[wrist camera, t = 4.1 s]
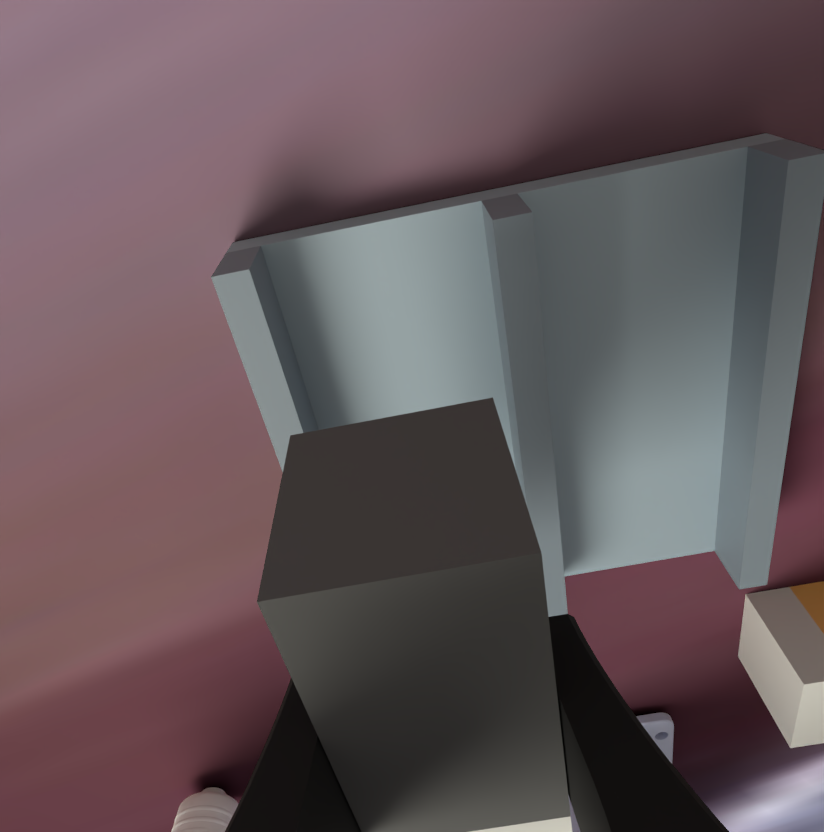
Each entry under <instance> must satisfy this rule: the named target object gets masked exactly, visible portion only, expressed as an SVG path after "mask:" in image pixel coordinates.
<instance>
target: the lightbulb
mask: <svg viewBox="0 0 824 832" xmlns="http://www.w3.org/2000/svg"><path fill="white" fill-rule="evenodd" d="M237 806H238V803H237V801H236V800H235V799H234V798H232V797H231V796H229V795H226V793H225V791H224V790H222V789H220V788H216V787H210V788H206V789H204V790H203V791H202V792H199V793H196V794H193V795H191V796H189V797H187V798H186V799H185V800H184V801H183V802H182V803H181V804H180V806H179V809H178V813H177V815H176V818H175V823H174V826H173V828H172V830H171V832H225V830H226V828H227V826H228V824H229V822H230V820H231V818H232V816H233V814H234V812H235V810H236V808H237Z"/></svg>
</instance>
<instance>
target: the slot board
mask: <svg viewBox="0 0 824 832" xmlns="http://www.w3.org/2000/svg"><path fill="white" fill-rule="evenodd" d="M823 199H824V150H822V149H819V148H815V147H812V146H808V145H805V144H802V143H798V142H795V141H791V140H788V139H785V138H781V137H778V136H774V135H771V134H767V133H765V134H760V135H755V136H750V137H745V138H740V139H735V140H731V141H726V142H721V143H716V144H711V145H706V146H701V147H696V148H691V149H687V150H682V151H677V152H672V153H667V154H662V155H657V156H652V157H647V158H643V159H638V160H633V161H628V162H623V163H618V164H613V165H608V166H603V167H599V168H594V169H589V170H584V171H579V172H574V173H569V174H564V175H559V176H555V177H550V178H545V179H540V180H535V181H530V182H525V183H520V184H515V185H511V186H506V187H501V188H496V189H491V190H486V191H481V192H476V193H471V194H467V195H462V196H457V197H452V198H447V199H442V200H437V201H432V202H427V203H423V204H418V205H413V206H408V207H403V208H398V209H393V210H388V211H383V212H379V213H374V214H369V215H364V216H359V217H354V218H349V219H344V220H339V221H335V222H330V223H325V224H320V225H315V226H310V227H305V228H300V229H295V230H291V231H286V232H281V233H276V234H271V235H266V236H261V237H256V238H251V239H247V240H242V241H237V242H233V243H232V245H231V246H230V248H229V249H228V251H227V253H226V254H225V256H224V257H223V259H222V260H221V262H220V264H219V265H218V267H217V268H216V270H215V272H214V273H213V275H212V276H211V278H212V281H213V284H214V286H215V289H216V292H217V294H218V297H219V300H220V303H221V305H222V308H223V311H224V314H225V316H226V319H227V322H228V324H229V327H230V330H231V333H232V335H233V338H234V341H235V344H236V346H237V349H238V352H239V354H240V357H241V360H242V363H243V365H244V368H245V371H246V374H247V376H248V379H249V382H250V384H251V387H252V390H253V393H254V395H255V398H256V401H257V404H258V406H259V409H260V412H261V414H262V417H263V420H264V423H265V425H266V428H267V431H268V434H269V436H270V439H271V442H272V444H273V447H274V450H275V453H276V455H277V458H278V461H279V464H280V466H281V469H282V472H283V469H284V464H285V459H286V454H287V449H288V444H289V439H290V435H295V434H300V433H306V432H311V431H316V430H322V429H327V428H332V427H338V426H343V425H349V424H354V423H359V422H365V421H370V420H375V419H381V418H386V417H391V416H397V415H402V414H407V413H413V412H418V411H423V410H429V409H434V408H439V407H445V406H450V405H455V404H461V403H466V402H471V401H477V400H482V399H487V398H493V400H494V403H495V406H496V409H497V412H498V416H499V419H500V422H501V425H502V428H503V432H504V435H505V438H506V441H507V444H508V448H509V451H510V454H511V457H512V460H513V463H514V467H515V470H516V473H517V476H518V479H519V483H520V486H521V489H522V492H523V495H524V499H525V502H526V505H527V508H528V511H529V515H530V518H531V521H532V524H533V527H534V530H535V534H536V537H537V540H538V543H539V546H540V550H541V553H542V562H543V571H544V580H545V589H546V598H547V607H548V616H549V617H551V616H557V615H563V614H568V612H567V601H566V589H565V578H564V576H569V575H575V574H581V573H587V572H593V571H599V570H605V569H611V568H616V567H622V566H628V565H634V564H640V563H646V562H652V561H657V560H663V559H669V558H675V557H681V556H687V555H693V554H699V553H704V552H710V551H715V552H716V554H717V555H718V557H719V559H720V560H721V562H722V563H723V565H724V566H725V568H726V570H727V571H728V573H729V574H730V576H731V577H732V579H733V580H734V582H735V584H736V585H737V587H738V588H739V589H744V588H750V587H756V586H762V585H767V581H768V574H769V568H770V561H771V554H772V547H773V540H774V534H775V527H776V520H777V513H778V506H779V499H780V493H781V486H782V479H783V472H784V465H785V459H786V452H787V445H788V438H789V431H790V424H791V418H792V411H793V404H794V397H795V390H796V384H797V377H798V370H799V363H800V356H801V349H802V343H803V336H804V329H805V322H806V315H807V309H808V302H809V295H810V288H811V281H812V274H813V268H814V261H815V254H816V247H817V240H818V234H819V227H820V220H821V213H822V206H823Z"/></svg>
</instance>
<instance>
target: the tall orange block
mask: <svg viewBox="0 0 824 832" xmlns="http://www.w3.org/2000/svg"><path fill="white" fill-rule="evenodd" d="M738 657H739V659H740V661H741V663H742V664H743V666H744V668H745V670H746V671H747V673H748V675H749V677H750V679H751V680H752V682H753V684H754V686H755V687H756V689H757V691H758V693H759V694H760V696H761V698H762V700H763V701H764V703H765V705H766V707H767V708H768V710H769V712H770V714H771V715H772V717H773V719H774V721H775V722H776V724H777V726H778V728H779V729H780V731H781V733H782V735H783V736H784V738H785V740H786V742H787V743H788V745H789V747H790V748H795V747H801V746H808V745H815V744H821V743H824V581H822V582H816V583H810V584H804V585H798V586H792V587H786V588H780V589H774V590H768V591H762V592H756V593H750V594H746V595H745V604H744V612H743V620H742V628H741V636H740V644H739V652H738Z"/></svg>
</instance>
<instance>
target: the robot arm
mask: <svg viewBox="0 0 824 832" xmlns="http://www.w3.org/2000/svg"><path fill="white" fill-rule="evenodd" d="M549 625H550V634H551V643H552V652H553V661H554V670H555V679H556V688H557V697H558V706H559V715H560V724H561V733H562V742H563V751H564V760H565V769H566V778H567V787H568V796H569V805H570V814H571V823H572V832H729V831H728V830H727V829H726V828H725V827H724V825H723V824H722V823H721V822H720V821H719V820H718V819H717V818H716V816H715V815H714V814H713V813H712V812H711V811H710V809H709V808H708V807H707V806H706V805H705V804H704V802H703V801H702V800H701V799H700V798H699V796H698V795H697V794H696V793H695V792H694V791H693V789H692V788H691V787H690V786H689V784H688V783H687V782H686V781H685V779H684V778H683V777H682V776H681V775H680V773H679V772H678V771H677V770H676V768H675V767H674V766H673V765H672V759H673V738H674V724H673V721H672V719H671V716H670V715H669V714H667V713H663V712H659V713H652V714H646V715H639V716H635V714H634V713H633V712H632V710H631V709H630V708H629V706H628V705H627V703H626V702H625V701H624V699H623V698H622V696H621V695H620V693H619V692H618V690H617V689H616V688H615V686H614V685H613V683H612V681H611V680H610V678H609V677H608V675H607V674H606V672H605V671H604V669H603V668H602V666H601V665H600V663H599V661H598V660H597V658H596V656H595V655H594V653H593V651H592V650H591V648H590V646H589V645H588V643H587V641H586V639H585V638H584V636H583V634H582V632H581V630H580V628H579V626H578V624H577V622H576V620H575V618H574V617H572V616H571V615H569V614H563V615H557V616H551V617H549ZM225 832H361V830H360V828H359V825H358V823H357V821H356V819H355V817H354V814H353V812H352V810H351V808H350V806H349V803H348V801H347V799H346V797H345V795H344V792H343V790H342V788H341V786H340V784H339V781H338V779H337V777H336V775H335V773H334V770H333V768H332V766H331V764H330V762H329V759H328V757H327V755H326V753H325V751H324V748H323V746H322V744H321V742H320V740H319V737H318V735H317V733H316V731H315V729H314V726H313V724H312V722H311V720H310V718H309V715H308V713H307V711H306V709H305V707H304V704H303V702H302V700H301V698H300V695H299V693H298V691H297V689H296V687H295V684H294V682H293V680H292V678H291V680H290V683H289V686H288V688H287V691H286V694H285V697H284V699H283V702H282V704H281V707H280V710H279V712H278V715H277V717H276V720H275V722H274V725H273V727H272V729H271V732H270V734H269V737H268V739H267V742H266V744H265V746H264V749H263V751H262V753H261V755H260V758H259V760H258V762H257V764H256V767H255V769H254V771H253V773H252V776H251V778H250V780H249V783H248V785H247V787H246V789H245V791H244V794H243V796H242V798H241V800H240V802H239V804H238V806H237V808H236V810H235V812H234V814H233V816H232V818H231V820H230V822H229V824H228V826H227V828H226V830H225Z"/></svg>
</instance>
